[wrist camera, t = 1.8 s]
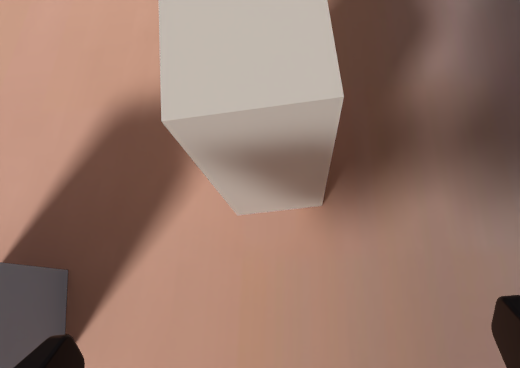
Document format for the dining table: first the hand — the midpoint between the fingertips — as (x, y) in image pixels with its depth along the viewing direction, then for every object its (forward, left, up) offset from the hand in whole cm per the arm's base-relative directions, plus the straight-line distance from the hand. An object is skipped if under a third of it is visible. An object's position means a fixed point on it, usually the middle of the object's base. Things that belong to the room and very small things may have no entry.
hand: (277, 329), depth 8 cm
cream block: (+7, +4, -14) cm, 16 cm away
